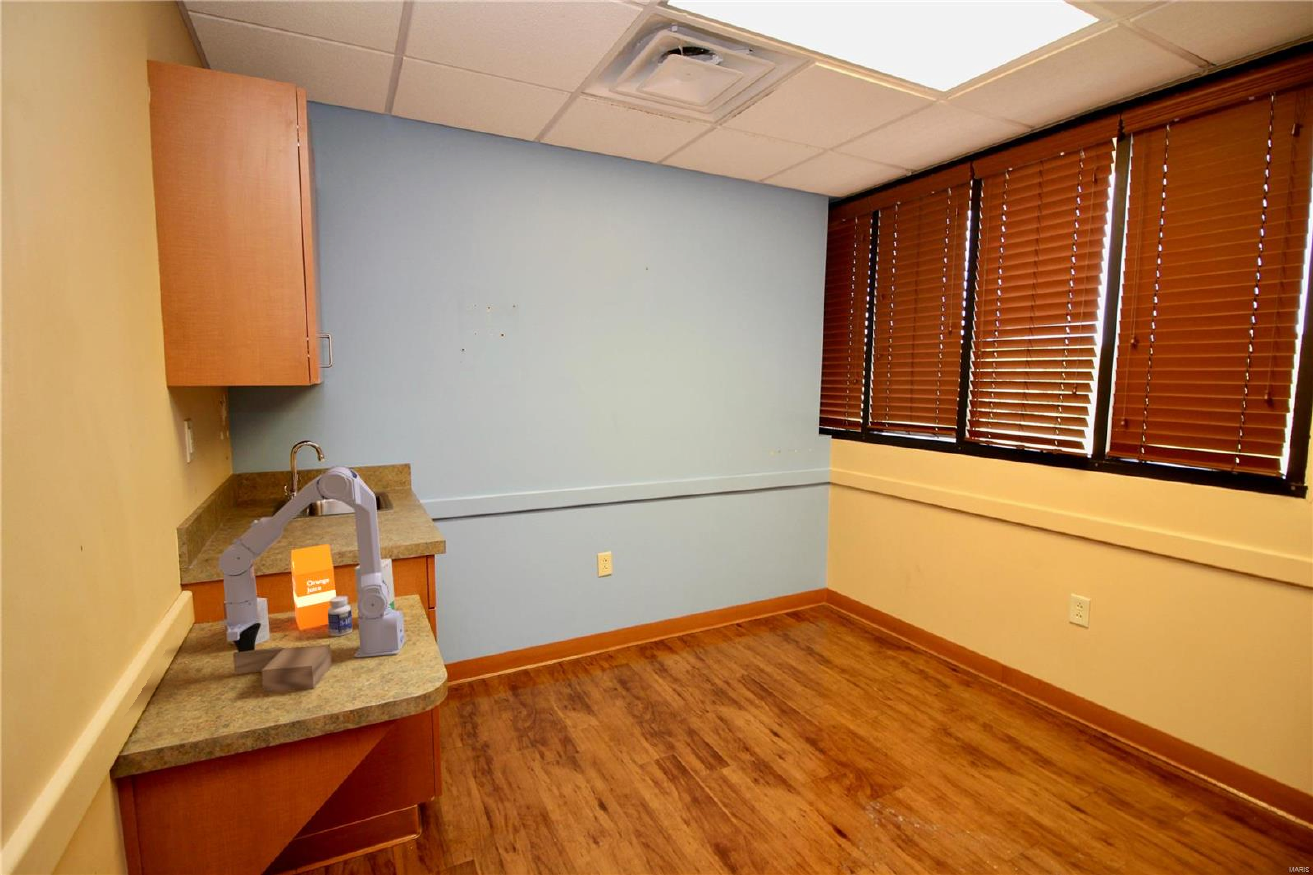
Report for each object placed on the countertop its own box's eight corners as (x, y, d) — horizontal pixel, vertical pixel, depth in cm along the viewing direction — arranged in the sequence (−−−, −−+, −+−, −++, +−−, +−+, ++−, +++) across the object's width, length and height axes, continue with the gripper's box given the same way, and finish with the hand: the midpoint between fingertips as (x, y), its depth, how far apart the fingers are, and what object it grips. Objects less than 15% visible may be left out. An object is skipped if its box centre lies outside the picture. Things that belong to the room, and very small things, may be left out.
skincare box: (382, 627, 158) (378, 568, 157) (357, 627, 159) (352, 568, 157) (396, 614, 167) (392, 558, 165) (372, 614, 167) (368, 558, 165)
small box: (226, 643, 151) (221, 602, 150) (248, 634, 156) (244, 594, 155) (248, 648, 148) (244, 606, 147) (270, 639, 153) (266, 597, 152)
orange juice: (295, 620, 164) (289, 547, 162) (332, 612, 169) (326, 541, 167) (299, 630, 158) (293, 553, 155) (338, 621, 163) (332, 547, 161)
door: (286, 668, 137) (284, 648, 136) (234, 674, 134) (232, 654, 134) (288, 665, 138) (286, 645, 137) (237, 671, 135) (235, 651, 135)
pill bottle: (343, 637, 153) (340, 602, 152) (324, 636, 154) (321, 601, 153) (357, 628, 158) (354, 595, 157) (339, 627, 159) (336, 594, 158)
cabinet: (331, 666, 138) (329, 644, 137) (313, 688, 128) (311, 665, 127) (285, 670, 136) (283, 648, 136) (263, 693, 126) (261, 670, 126)
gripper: (231, 590, 140) (237, 647, 142) (207, 614, 126) (213, 677, 128) (267, 586, 142) (272, 643, 144) (247, 609, 129) (252, 671, 130)
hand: (247, 659), depth 136 cm, fingers closed, pressing on door
